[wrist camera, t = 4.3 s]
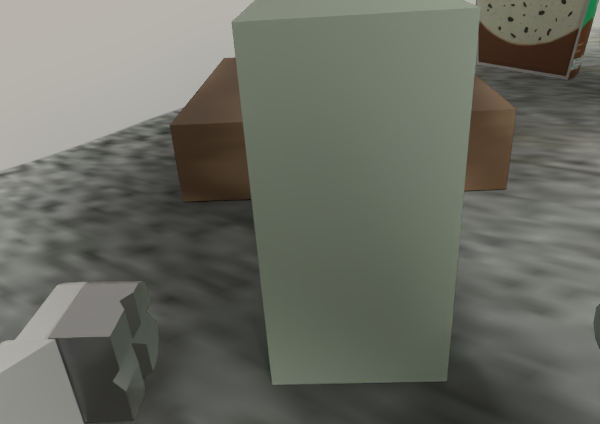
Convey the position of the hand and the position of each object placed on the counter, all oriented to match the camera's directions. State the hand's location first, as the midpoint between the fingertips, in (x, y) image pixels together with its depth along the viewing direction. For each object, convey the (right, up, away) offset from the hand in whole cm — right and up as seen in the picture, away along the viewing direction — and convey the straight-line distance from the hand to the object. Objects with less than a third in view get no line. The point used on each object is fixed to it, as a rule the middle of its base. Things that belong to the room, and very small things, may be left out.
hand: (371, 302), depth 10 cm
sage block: (0, -2, +8) cm, 8 cm away
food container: (+21, +15, +39) cm, 47 cm away
